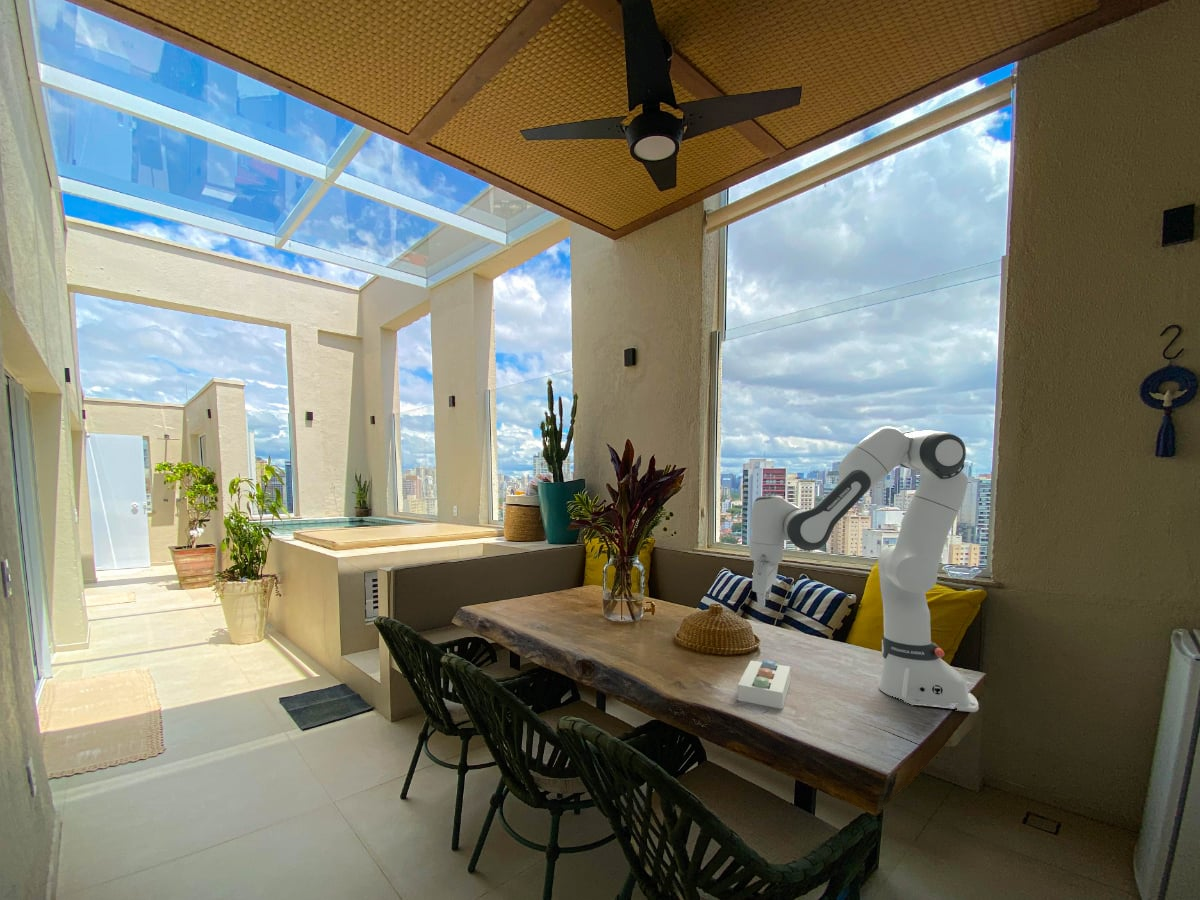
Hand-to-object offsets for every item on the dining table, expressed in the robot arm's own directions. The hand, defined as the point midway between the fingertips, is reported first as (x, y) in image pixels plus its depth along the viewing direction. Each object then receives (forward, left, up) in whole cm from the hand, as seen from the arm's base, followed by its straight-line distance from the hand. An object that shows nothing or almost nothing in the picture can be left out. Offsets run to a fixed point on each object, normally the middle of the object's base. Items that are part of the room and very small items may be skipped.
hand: (763, 602), depth 142 cm
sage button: (-1, +9, -21) cm, 23 cm away
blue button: (-1, -5, -21) cm, 21 cm away
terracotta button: (-1, +2, -21) cm, 21 cm away
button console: (-1, +2, -23) cm, 23 cm away
